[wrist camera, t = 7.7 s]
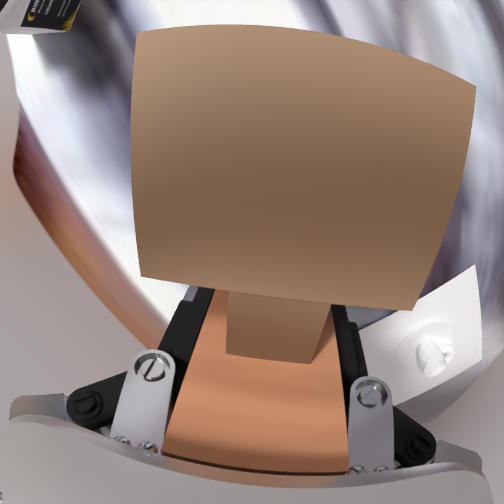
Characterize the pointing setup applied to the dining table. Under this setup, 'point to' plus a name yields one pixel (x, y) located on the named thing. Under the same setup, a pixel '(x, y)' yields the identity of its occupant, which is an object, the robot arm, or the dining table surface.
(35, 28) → the medicine bottle
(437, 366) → the teacup and saucer
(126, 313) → the dining table surface
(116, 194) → the dining table surface
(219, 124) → the wooden toy mallet
